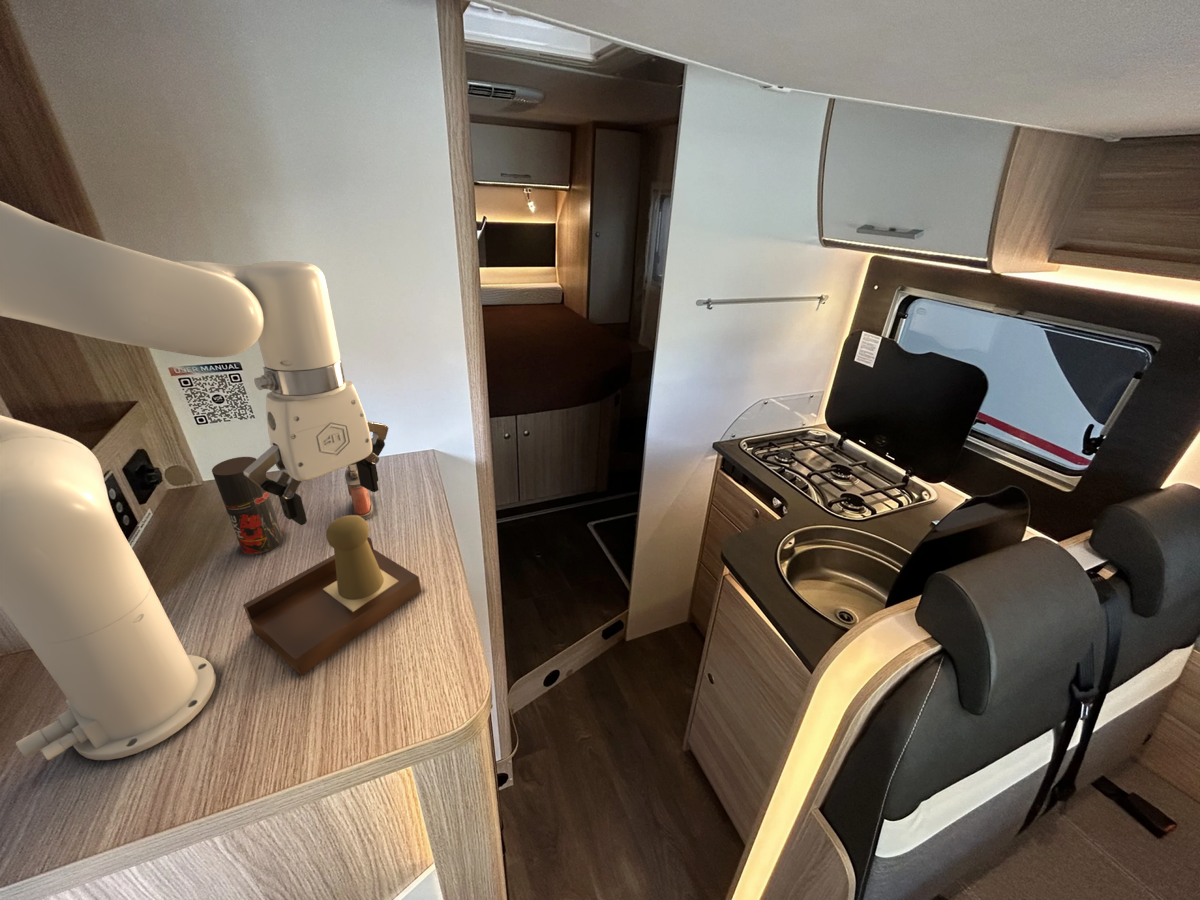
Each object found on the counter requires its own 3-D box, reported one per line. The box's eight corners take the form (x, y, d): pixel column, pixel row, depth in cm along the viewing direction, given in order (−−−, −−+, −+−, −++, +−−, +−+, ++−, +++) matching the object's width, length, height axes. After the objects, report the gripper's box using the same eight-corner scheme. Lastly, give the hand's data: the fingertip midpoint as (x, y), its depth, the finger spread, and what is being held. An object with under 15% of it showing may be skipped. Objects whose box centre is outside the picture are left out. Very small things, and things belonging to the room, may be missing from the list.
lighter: (352, 499, 96) (341, 453, 92) (371, 495, 98) (361, 450, 93) (353, 521, 90) (342, 473, 85) (374, 517, 91) (363, 470, 87)
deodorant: (290, 533, 86) (266, 458, 79) (266, 555, 81) (238, 476, 74) (258, 531, 87) (231, 455, 80) (232, 552, 81) (201, 473, 74)
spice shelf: (301, 676, 61) (290, 647, 59) (253, 632, 67) (242, 604, 65) (421, 591, 75) (416, 565, 72) (373, 561, 81) (367, 536, 78)
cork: (367, 603, 68) (351, 538, 63) (328, 595, 69) (309, 531, 64) (392, 573, 73) (379, 512, 68) (355, 567, 74) (340, 506, 69)
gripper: (239, 406, 48) (281, 547, 56) (393, 367, 62) (410, 486, 69) (205, 389, 52) (249, 524, 60) (357, 355, 65) (377, 470, 73)
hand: (335, 503), depth 64 cm, fingers open, 9 cm apart
